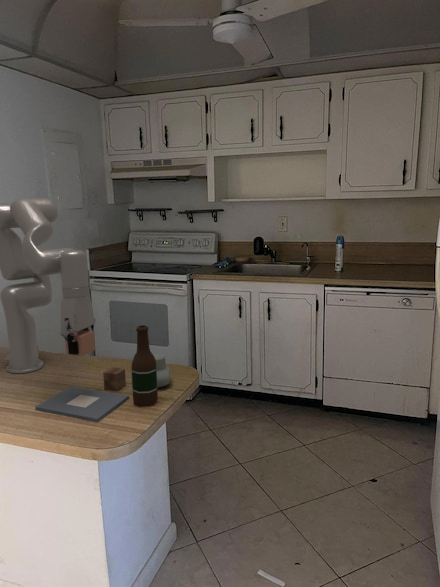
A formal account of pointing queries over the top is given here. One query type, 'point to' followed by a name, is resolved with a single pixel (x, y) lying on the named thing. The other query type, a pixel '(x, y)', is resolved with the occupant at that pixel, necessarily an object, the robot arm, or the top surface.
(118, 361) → the top surface
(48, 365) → the top surface
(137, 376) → the beer bottle
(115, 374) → the walnut block
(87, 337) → the terracotta block
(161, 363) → the air freshener
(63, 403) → the board
